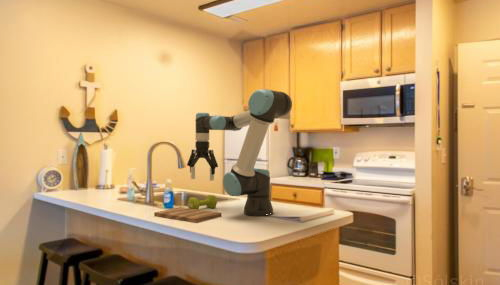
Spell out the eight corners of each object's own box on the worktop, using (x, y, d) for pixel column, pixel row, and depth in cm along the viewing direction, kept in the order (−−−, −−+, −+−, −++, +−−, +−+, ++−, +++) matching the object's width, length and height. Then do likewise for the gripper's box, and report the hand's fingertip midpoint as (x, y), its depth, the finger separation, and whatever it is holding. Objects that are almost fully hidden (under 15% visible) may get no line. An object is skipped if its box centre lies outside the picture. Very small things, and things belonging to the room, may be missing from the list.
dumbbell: (195, 212, 193) (195, 198, 193) (185, 210, 199) (185, 197, 199) (218, 208, 205) (218, 195, 205) (209, 206, 211) (209, 194, 211)
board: (221, 216, 182) (221, 212, 182) (196, 222, 167) (196, 218, 167) (180, 210, 198) (180, 207, 198) (154, 216, 183) (154, 212, 183)
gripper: (224, 141, 199) (224, 180, 199) (190, 140, 212) (190, 177, 212) (215, 141, 192) (215, 181, 192) (181, 140, 206) (180, 178, 206)
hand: (202, 179), depth 202 cm, fingers open, 13 cm apart
